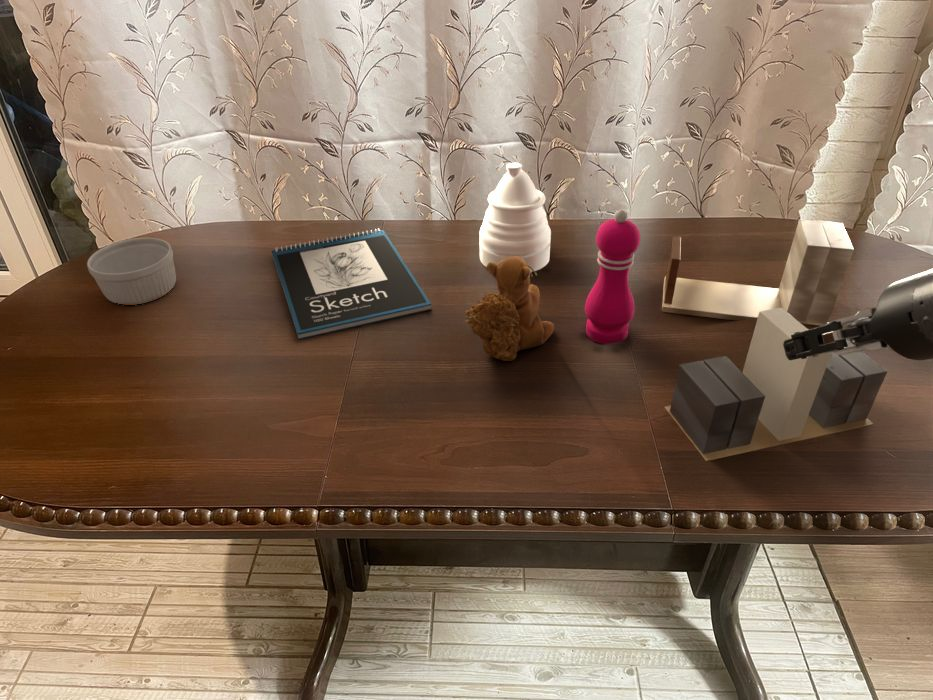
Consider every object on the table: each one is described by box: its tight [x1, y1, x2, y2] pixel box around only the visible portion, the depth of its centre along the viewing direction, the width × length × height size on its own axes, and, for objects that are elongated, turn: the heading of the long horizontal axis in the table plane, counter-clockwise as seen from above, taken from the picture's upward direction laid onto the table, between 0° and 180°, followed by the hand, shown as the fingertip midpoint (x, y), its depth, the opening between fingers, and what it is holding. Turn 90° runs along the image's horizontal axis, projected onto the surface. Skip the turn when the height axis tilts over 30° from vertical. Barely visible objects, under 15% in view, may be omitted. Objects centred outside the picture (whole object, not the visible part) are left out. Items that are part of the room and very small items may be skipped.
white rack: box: [661, 218, 855, 327], centre depth 101 cm, size 24×10×14 cm, turn 74°
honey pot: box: [478, 161, 552, 273], centre depth 115 cm, size 13×13×18 cm
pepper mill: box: [584, 209, 641, 345], centre depth 94 cm, size 7×7×20 cm
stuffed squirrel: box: [464, 256, 555, 362], centre depth 94 cm, size 10×14×13 cm
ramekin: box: [86, 237, 177, 305], centre depth 111 cm, size 13×13×7 cm
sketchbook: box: [271, 227, 433, 340], centre depth 114 cm, size 22×30×2 cm
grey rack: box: [664, 339, 888, 462], centre depth 80 cm, size 23×10×8 cm, turn 104°
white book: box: [741, 308, 832, 441], centre depth 78 cm, size 3×9×13 cm, turn 14°
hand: (822, 344), depth 71 cm, fingers open, 8 cm apart
